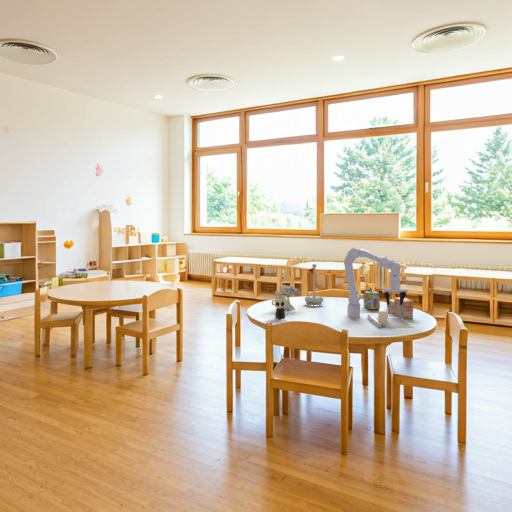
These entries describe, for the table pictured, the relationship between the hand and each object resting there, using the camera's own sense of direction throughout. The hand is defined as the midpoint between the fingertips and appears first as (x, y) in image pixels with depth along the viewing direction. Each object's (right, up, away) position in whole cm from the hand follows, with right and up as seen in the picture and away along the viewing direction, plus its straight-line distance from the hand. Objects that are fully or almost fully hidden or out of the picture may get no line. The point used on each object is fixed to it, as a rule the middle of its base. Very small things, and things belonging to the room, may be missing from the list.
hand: (394, 304), depth 245 cm
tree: (-61, -8, +36) cm, 72 cm away
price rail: (-14, -10, -6) cm, 18 cm away
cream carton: (-9, -10, -6) cm, 15 cm away
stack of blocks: (+8, -10, +14) cm, 19 cm away
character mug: (-68, -10, +11) cm, 70 cm away
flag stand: (-41, -6, +50) cm, 66 cm away
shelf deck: (-5, -11, -6) cm, 13 cm away
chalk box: (-3, -8, +38) cm, 39 cm away
